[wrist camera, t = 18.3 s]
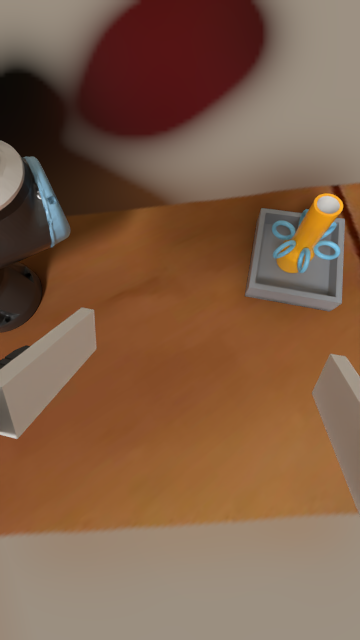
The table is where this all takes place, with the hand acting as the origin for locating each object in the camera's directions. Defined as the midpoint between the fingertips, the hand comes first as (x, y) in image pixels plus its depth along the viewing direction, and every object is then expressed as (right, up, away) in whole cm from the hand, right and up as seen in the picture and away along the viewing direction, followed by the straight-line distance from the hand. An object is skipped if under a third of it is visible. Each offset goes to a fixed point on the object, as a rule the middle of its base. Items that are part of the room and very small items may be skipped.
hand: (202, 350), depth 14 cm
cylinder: (+21, +14, +36) cm, 44 cm away
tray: (+21, +13, +37) cm, 45 cm away
